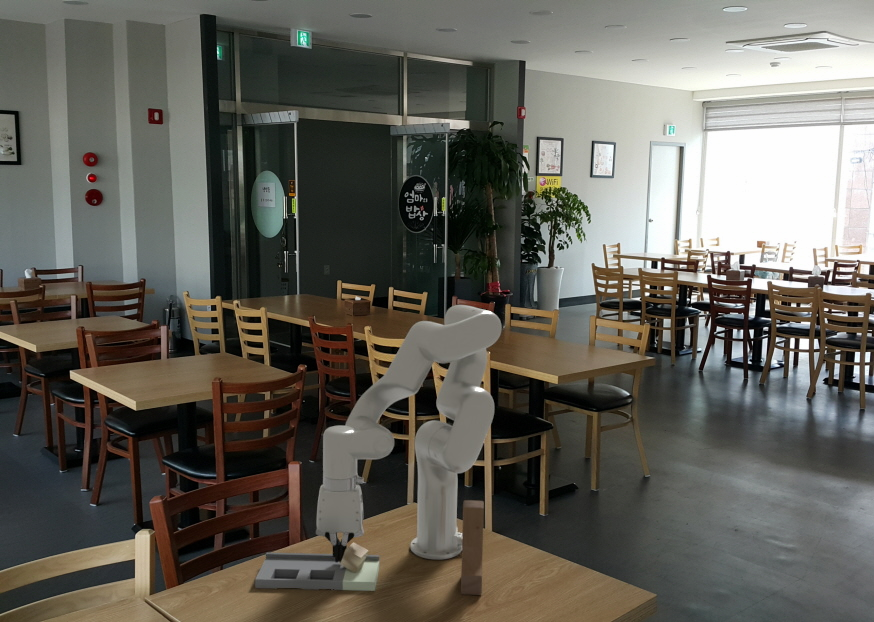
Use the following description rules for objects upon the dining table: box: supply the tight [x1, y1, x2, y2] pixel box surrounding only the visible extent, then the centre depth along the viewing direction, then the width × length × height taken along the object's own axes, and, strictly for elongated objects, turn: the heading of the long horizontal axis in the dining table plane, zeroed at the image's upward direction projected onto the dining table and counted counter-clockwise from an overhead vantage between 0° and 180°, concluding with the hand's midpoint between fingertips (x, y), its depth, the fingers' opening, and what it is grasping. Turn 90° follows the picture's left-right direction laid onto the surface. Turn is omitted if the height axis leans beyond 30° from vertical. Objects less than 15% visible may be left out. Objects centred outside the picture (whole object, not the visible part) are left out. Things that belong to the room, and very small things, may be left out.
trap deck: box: [254, 552, 380, 592], centre depth 178 cm, size 26×11×3 cm, turn 89°
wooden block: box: [460, 499, 485, 596], centre depth 175 cm, size 9×4×18 cm, turn 177°
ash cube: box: [340, 542, 369, 573], centre depth 178 cm, size 4×4×4 cm
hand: (339, 559), depth 180 cm, fingers closed
